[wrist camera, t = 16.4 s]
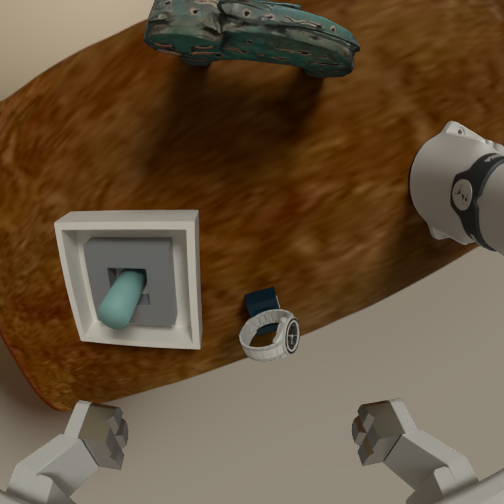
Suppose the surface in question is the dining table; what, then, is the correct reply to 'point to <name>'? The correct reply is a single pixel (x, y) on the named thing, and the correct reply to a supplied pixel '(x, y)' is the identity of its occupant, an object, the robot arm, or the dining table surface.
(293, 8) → the ceramic cat
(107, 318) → the peg
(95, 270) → the open box
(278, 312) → the watch
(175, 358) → the dining table surface
